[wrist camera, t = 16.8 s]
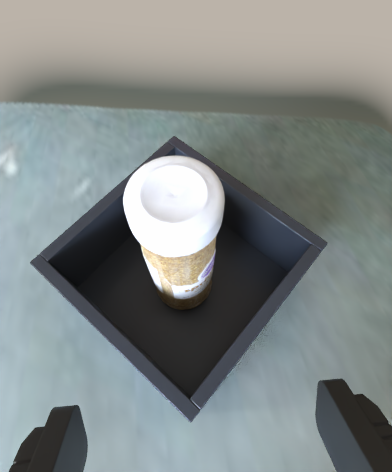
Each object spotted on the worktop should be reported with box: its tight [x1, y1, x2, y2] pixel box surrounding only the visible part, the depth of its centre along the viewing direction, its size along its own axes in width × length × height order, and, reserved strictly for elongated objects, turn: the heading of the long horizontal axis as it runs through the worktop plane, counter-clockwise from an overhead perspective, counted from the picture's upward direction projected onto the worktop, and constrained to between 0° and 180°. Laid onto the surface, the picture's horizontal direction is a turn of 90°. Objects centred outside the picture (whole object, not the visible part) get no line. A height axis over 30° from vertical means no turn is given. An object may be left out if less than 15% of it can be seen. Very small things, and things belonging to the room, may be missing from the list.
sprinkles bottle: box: [123, 156, 225, 310], centre depth 21 cm, size 5×5×14 cm
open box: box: [30, 136, 327, 422], centre depth 24 cm, size 14×14×7 cm
